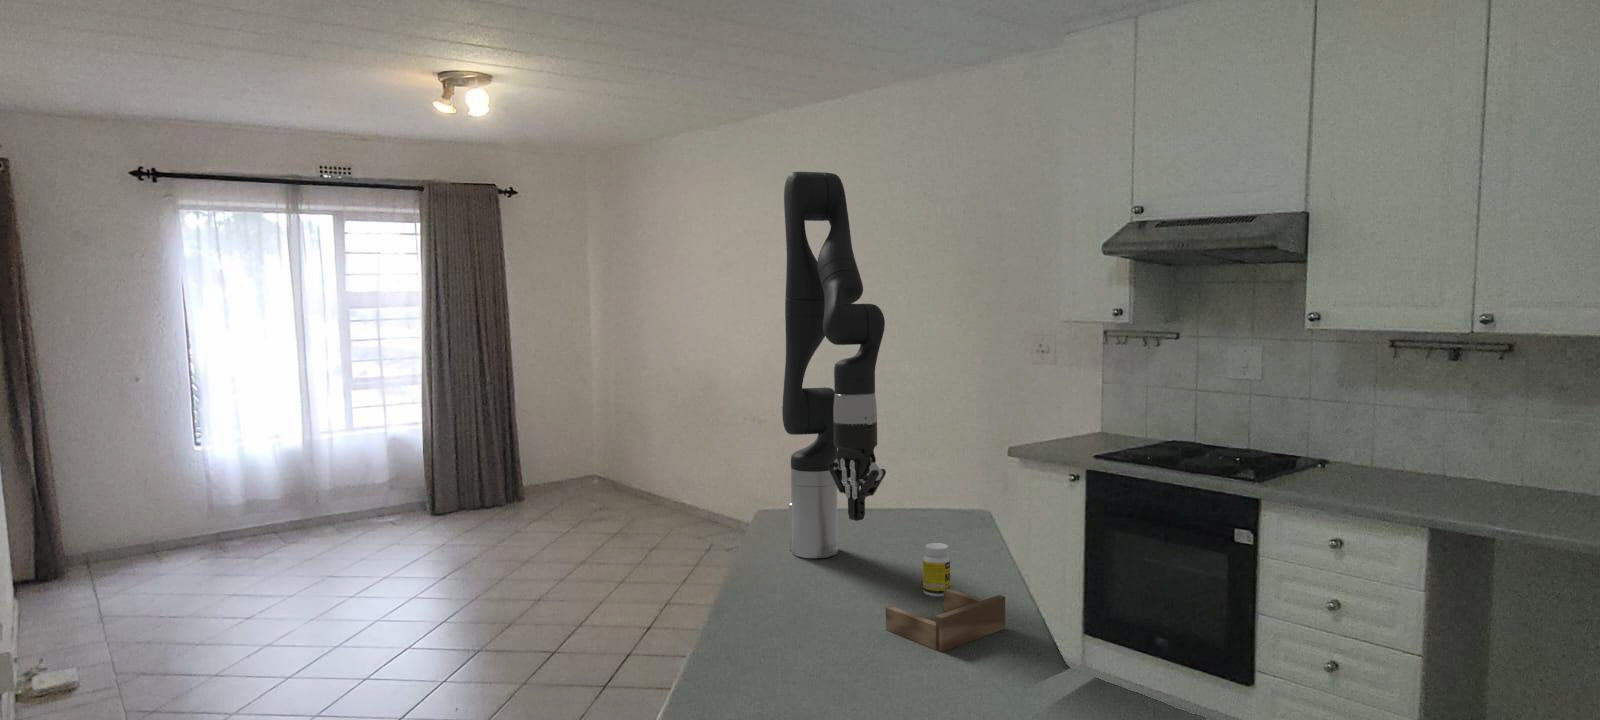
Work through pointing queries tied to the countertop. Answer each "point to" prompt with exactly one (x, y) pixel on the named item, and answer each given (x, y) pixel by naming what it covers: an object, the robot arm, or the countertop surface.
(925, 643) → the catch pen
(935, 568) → the supplement bottle
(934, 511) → the countertop surface
